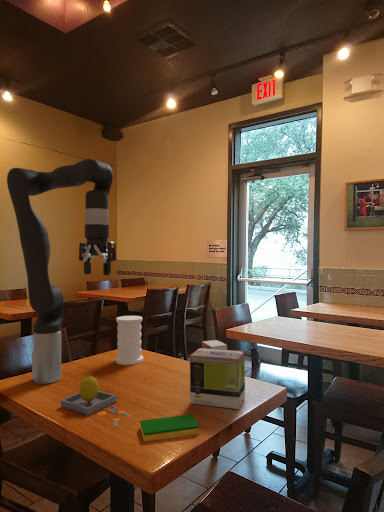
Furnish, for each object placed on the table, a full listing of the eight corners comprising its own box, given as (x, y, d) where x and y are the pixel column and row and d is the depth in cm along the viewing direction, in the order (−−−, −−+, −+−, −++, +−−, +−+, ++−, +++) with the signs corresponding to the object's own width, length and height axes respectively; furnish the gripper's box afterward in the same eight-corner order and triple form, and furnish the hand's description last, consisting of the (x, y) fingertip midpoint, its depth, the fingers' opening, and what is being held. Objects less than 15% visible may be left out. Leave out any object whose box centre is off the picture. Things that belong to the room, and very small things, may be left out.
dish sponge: (140, 429, 94) (140, 419, 94) (192, 422, 97) (192, 413, 97) (143, 443, 87) (143, 433, 87) (199, 435, 90) (199, 425, 90)
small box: (201, 377, 132) (201, 341, 132) (217, 374, 135) (217, 339, 135) (211, 384, 125) (211, 346, 125) (227, 381, 127) (227, 344, 127)
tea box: (245, 397, 113) (245, 350, 113) (238, 411, 104) (238, 359, 104) (199, 391, 118) (199, 346, 118) (189, 403, 109) (189, 354, 108)
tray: (60, 407, 106) (60, 400, 106) (90, 394, 116) (90, 388, 116) (87, 416, 100) (87, 408, 100) (116, 402, 110) (116, 395, 110)
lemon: (101, 399, 111) (101, 373, 111) (94, 406, 105) (94, 379, 105) (83, 398, 111) (83, 372, 111) (76, 406, 106) (76, 378, 106)
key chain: (91, 412, 104) (91, 409, 104) (114, 405, 108) (114, 402, 108) (113, 428, 94) (113, 425, 94) (137, 420, 99) (137, 416, 99)
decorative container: (111, 364, 148) (111, 319, 148) (121, 356, 159) (121, 315, 159) (138, 365, 146) (138, 320, 146) (146, 357, 157) (146, 315, 157)
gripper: (72, 224, 116) (72, 274, 116) (104, 221, 109) (104, 276, 109) (90, 225, 123) (90, 273, 123) (121, 223, 115) (121, 274, 115)
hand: (97, 274), depth 116 cm, fingers open, 8 cm apart
